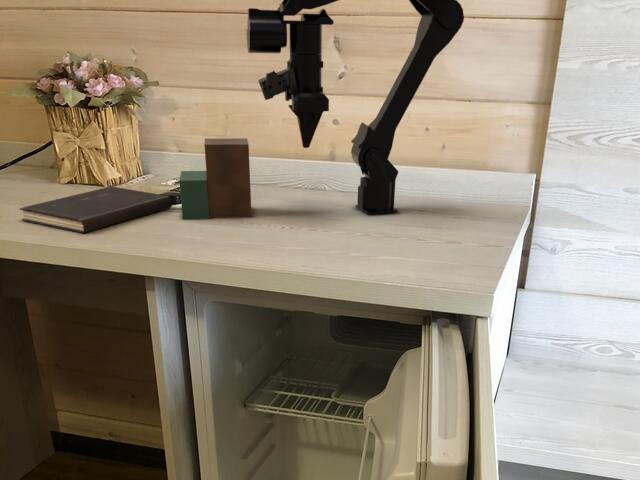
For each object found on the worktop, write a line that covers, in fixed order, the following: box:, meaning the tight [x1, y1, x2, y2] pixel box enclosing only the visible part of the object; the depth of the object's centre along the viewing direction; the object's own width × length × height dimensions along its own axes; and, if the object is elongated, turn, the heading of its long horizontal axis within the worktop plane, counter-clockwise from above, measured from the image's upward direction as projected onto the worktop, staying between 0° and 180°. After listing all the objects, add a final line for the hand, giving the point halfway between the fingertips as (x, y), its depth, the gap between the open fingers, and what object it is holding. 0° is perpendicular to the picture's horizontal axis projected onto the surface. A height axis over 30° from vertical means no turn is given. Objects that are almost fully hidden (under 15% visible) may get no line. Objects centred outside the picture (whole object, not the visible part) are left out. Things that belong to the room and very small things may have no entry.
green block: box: [178, 170, 211, 220], centre depth 141 cm, size 5×9×7 cm, turn 8°
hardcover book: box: [19, 186, 173, 234], centre depth 140 cm, size 16×23×2 cm
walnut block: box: [204, 137, 253, 218], centre depth 140 cm, size 8×7×13 cm
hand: (305, 147), depth 139 cm, fingers closed
